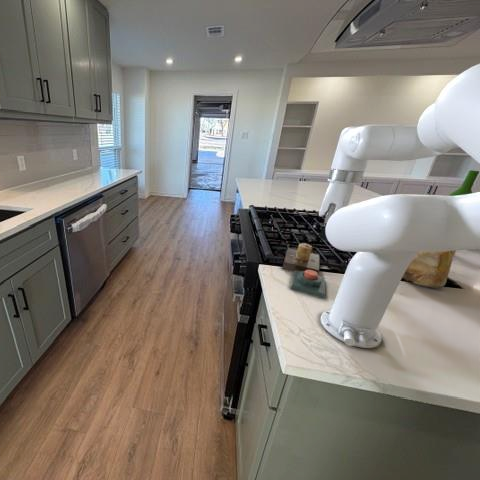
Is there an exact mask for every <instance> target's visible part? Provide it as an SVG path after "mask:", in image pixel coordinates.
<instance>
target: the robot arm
mask: <svg viewBox="0 0 480 480" xmlns="http://www.w3.org/2000/svg"><path fill="white" fill-rule="evenodd" d="M457 148H460V149H461V150H463V152H465V153H466V154H467V155H469V156H470V157H471V158H473V159H474V160H475V161H476V162H477V163H478V164H479V165H480V63H478V64H476V65H473V66H471V67H469V68H467V69H466V70H464V71H462V72H461V73H459V74H458V75H457V76H455V77H454V78H453V79H452V80H451V81H450V82H448V83H447V84H446V86H444V88H443V89H442V90H441V92H440V94H439V95H438V96H437V98H436V100H435V102H433V103H432V104H430V105H429V106H427V108H426V109H425V110H424V111H423V112H422V114H421V116H420V117H419V119H418V123H417V124H415V125H414V124H413V125H404V124H365V125H361V126H348V127H345V128H344V129H342V131H341V133H340V135H339V138H338V142H337V146H336V149H335V153H334V156H333V159H332V163H331V167H330V169H329V174H328V177H327V182H329V184H328V187H327V189H326V191H325V194H324V197H323V199H322V203H321V205H320V209H319V212H318V217H320V218H321V217H323V216H325V217H324V220H323V224H322V227H321V229H320V233H319V239H320V240H324V241H328V242H329V244H330V245H331V246H332V247H334V248H335V249H336V250H339V251H343V252H353V253H355V254H354V255H353V256H352V258H351V259H350V260H349V262H348V264H347V266H346V269H345V272H344V275H343V277H342V279H341V282H340V285H339V288H338V290H337V292H336V295H335V299H334V301H333V304H332V307H331V309H326V310H325V311H323V312H322V313H321V316H320V323H321V326H322V327H323V328H324V329H325V330H326V331H327V332H328V333H329V334H330V335H331V336H332V337H335V339H337V340H340V341H341V342H344V344H345V345H346V346H349V347H353V346H354V347H358V348H362V349H363V348H364V349H372V348H377V347H378V346H380V344H381V343H382V333H381V331H379V329H378V328H379V325H380V323H381V321H382V319H383V317H384V315H385V313H386V311H387V309H388V307H389V305H390V303H391V301H392V299H393V297H394V295H395V293H396V290H397V288H398V287H399V285H400V283H401V280H402V279H403V275H404V273H405V271H406V269H407V268H408V266H409V265H410V263H411V262H412V261H413V259H414V258H415V257H416V256H417V255H418V253H419V252H420V251H422V252H444V251H455V250H456V251H465V250H466V251H467V250H469V251H470V250H480V191H477V192H472V194H466V195H459V196H448V195H443V196H440V195H441V194H437V195H436V194H411V193H409V194H406V193H399V194H395V193H394V194H387V195H380V196H376V197H373V198H370V199H366V200H363V201H360V202H356V203H352V204H350V201H351V198H352V195H353V191H354V188H355V185H361V183H362V181H363V177H364V175H365V172H366V168H367V165H368V162H369V161H394V162H395V161H396V162H405V161H413V160H421V159H427V158H433V157H438V156H441V155H444V154H446V153H447V152H449V151H450V150H452V149H457Z"/></svg>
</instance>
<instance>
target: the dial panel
mask: <svg viewBox="0 0 480 480" xmlns="http://www.w3.org/2000/svg"><path fill="white" fill-rule="evenodd" d="M297 250H298V249H294V248H290V247H287V250H286V253H285V257H284V260H283V263H282V270H285V271H289V272H293V273H294V271H295V270H297V271H305V270H313V271H315V272H317V273H318V274H319V272H320V254H317V253H313V252H311V254H310V258H309V260H308V261H303V260H299V259H297V258H296V253H297Z"/></svg>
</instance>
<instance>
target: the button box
mask: <svg viewBox="0 0 480 480" xmlns="http://www.w3.org/2000/svg"><path fill="white" fill-rule="evenodd" d="M304 273H305V271H297V270H295V271H294V272H293V276H292V280H291V281H292V282H291V286H290V289H291V290H293V291H296V292H300V293H303V294H307V295H310V296H314V297H318V298H321V299H324V298H325V296H326V280H325V279H326V278H325V277H324V276H321V275H319V274H318V276H317V279H316V280H311V279H308V278H306V277H304Z"/></svg>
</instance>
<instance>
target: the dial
mask: <svg viewBox="0 0 480 480" xmlns="http://www.w3.org/2000/svg"><path fill="white" fill-rule="evenodd" d="M313 247H314V246H313V245H311V244H309V243H304V242H303V243H301V242H300V243H299V244H298V246H297V249H296V250H297V253H296V258H297V259H299V260H303V261H308V260H309V258H310V254H311V253H312V250H313Z"/></svg>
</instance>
